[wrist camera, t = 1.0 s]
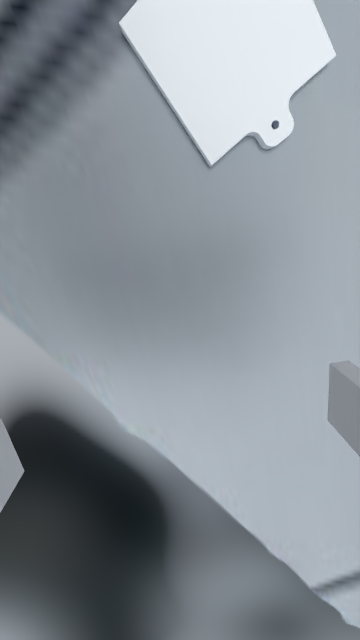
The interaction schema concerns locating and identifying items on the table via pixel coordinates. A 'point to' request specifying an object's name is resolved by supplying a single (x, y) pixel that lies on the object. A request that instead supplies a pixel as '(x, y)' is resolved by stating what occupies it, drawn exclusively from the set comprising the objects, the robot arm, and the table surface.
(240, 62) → the mounting plate
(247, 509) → the table surface
